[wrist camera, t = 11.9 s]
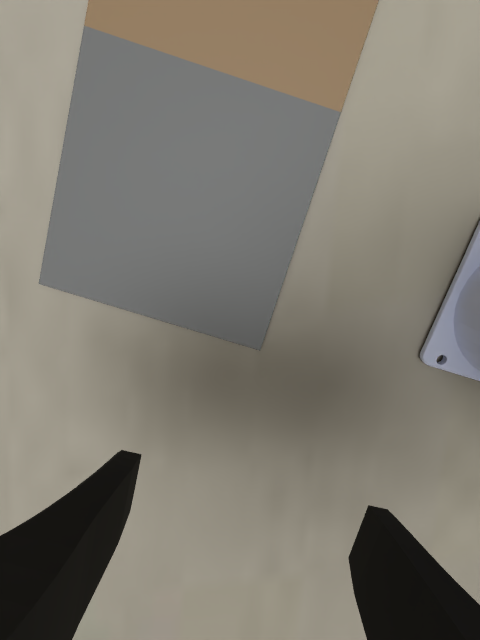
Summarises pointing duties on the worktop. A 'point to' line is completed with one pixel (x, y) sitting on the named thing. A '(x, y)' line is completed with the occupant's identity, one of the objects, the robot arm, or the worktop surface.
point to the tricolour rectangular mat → (197, 154)
